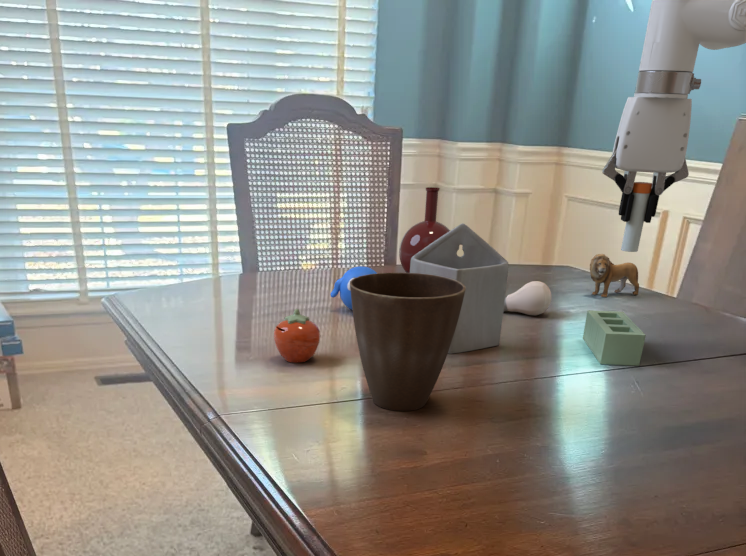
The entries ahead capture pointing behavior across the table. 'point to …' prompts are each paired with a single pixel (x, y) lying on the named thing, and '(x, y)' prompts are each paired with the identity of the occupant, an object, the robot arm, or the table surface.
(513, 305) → the light bulb
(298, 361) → the tomato
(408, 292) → the flower pot
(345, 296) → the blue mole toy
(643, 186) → the test tube
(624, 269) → the lion figurine
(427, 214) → the round-bottom flask
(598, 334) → the rack
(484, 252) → the planter
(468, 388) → the table surface
